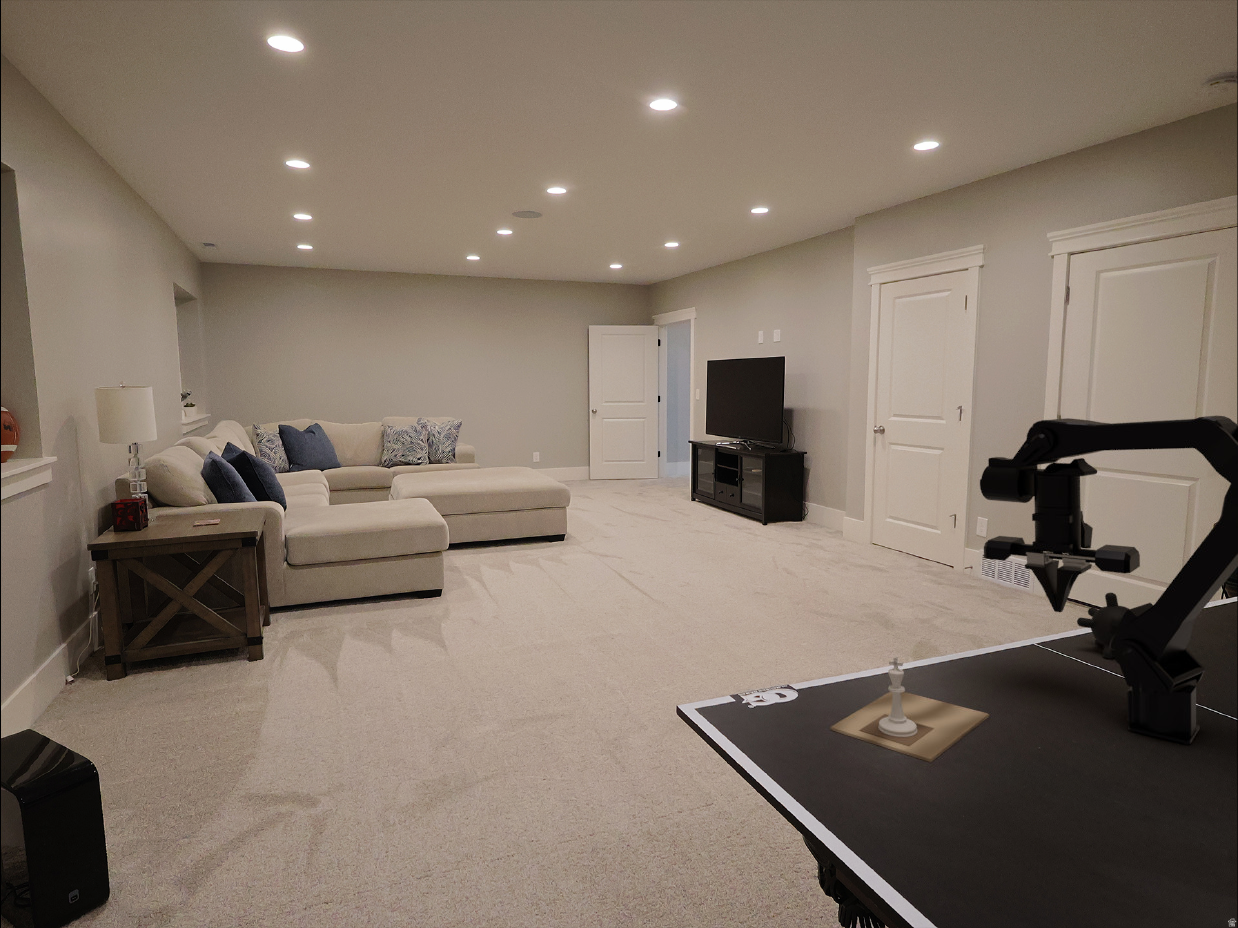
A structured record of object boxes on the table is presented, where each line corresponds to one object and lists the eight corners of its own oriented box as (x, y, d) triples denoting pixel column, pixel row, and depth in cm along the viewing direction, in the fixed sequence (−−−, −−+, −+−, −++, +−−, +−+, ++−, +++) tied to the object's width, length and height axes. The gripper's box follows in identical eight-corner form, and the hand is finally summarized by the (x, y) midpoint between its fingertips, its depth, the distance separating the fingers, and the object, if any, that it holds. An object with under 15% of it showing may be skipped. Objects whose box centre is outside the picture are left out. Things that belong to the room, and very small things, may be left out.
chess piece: (912, 740, 94) (910, 665, 93) (873, 732, 97) (871, 659, 96) (921, 725, 98) (919, 654, 97) (884, 718, 101) (882, 648, 100)
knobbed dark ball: (1106, 651, 116) (1052, 613, 127) (1136, 686, 119) (1081, 646, 130) (1157, 606, 114) (1098, 572, 126) (1187, 642, 118) (1127, 606, 129)
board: (988, 716, 101) (988, 713, 101) (930, 762, 89) (930, 758, 89) (894, 691, 111) (894, 688, 111) (830, 729, 99) (830, 726, 99)
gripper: (1149, 502, 102) (1150, 610, 103) (1009, 496, 116) (1010, 591, 117) (1128, 512, 95) (1129, 628, 96) (981, 504, 109) (983, 605, 110)
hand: (1058, 611), depth 105 cm, fingers closed
